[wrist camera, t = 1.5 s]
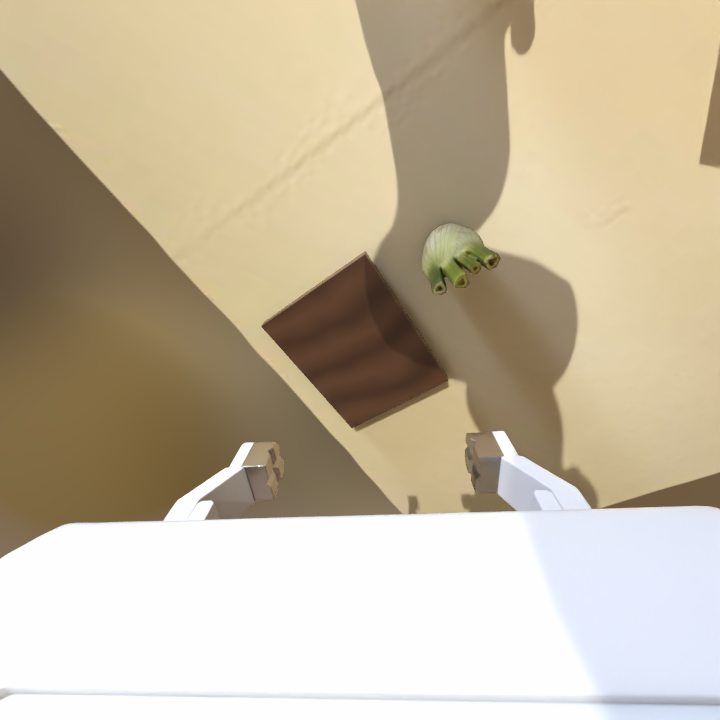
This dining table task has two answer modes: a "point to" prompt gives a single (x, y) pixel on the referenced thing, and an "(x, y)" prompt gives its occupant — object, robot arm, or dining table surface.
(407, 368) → the cutting board
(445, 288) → the fennel bulb
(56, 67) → the dining table surface
